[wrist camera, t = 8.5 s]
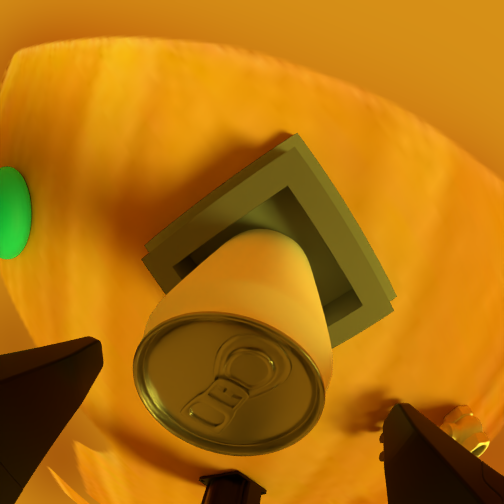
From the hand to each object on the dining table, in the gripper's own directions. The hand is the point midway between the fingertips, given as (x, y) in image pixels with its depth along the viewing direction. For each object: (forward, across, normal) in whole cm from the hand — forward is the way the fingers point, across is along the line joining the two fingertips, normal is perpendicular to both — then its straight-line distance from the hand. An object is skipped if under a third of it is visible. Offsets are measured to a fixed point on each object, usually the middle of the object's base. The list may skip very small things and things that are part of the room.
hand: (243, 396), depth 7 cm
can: (+12, 0, 0) cm, 12 cm away
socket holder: (+13, 0, 0) cm, 13 cm away
